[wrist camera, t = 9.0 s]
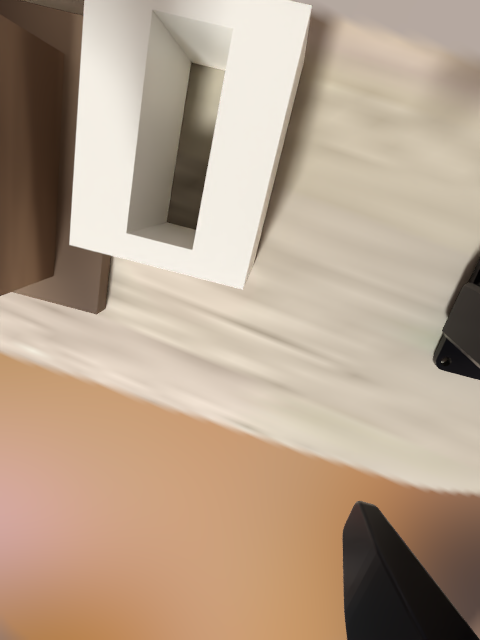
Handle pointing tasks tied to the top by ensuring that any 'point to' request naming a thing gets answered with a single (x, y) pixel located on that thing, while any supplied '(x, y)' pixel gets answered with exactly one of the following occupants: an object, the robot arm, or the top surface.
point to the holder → (165, 126)
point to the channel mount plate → (42, 159)
